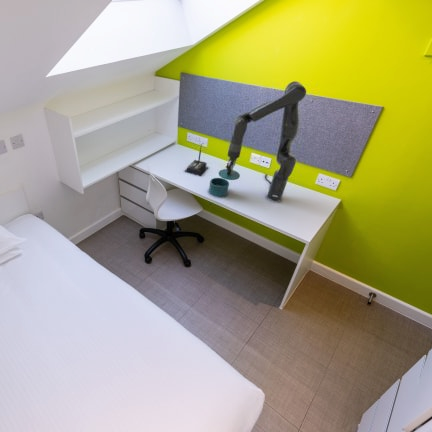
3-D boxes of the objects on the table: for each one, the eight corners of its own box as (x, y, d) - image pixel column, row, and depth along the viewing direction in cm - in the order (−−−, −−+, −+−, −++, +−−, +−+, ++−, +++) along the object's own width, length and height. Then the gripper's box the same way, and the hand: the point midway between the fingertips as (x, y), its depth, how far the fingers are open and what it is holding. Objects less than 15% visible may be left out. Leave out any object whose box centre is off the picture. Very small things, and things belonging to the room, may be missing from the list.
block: (215, 189, 210) (216, 184, 208) (221, 191, 208) (223, 186, 206) (213, 192, 207) (214, 187, 204) (219, 194, 205) (220, 189, 203)
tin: (212, 186, 215) (214, 176, 210) (229, 191, 210) (231, 181, 205) (205, 194, 207) (207, 183, 202) (222, 199, 201) (225, 189, 196)
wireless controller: (201, 176, 227) (204, 155, 217) (184, 171, 232) (186, 151, 222) (209, 165, 241) (213, 146, 230) (194, 161, 246) (196, 142, 236)
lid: (222, 168, 203) (224, 160, 200) (242, 174, 198) (244, 166, 194) (215, 176, 194) (216, 168, 190) (235, 183, 188) (237, 174, 185)
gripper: (237, 154, 178) (231, 179, 189) (244, 146, 188) (238, 171, 198) (225, 151, 181) (220, 176, 192) (232, 144, 191) (227, 168, 201)
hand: (229, 173), depth 195 cm, fingers closed on lid, 2 cm apart
